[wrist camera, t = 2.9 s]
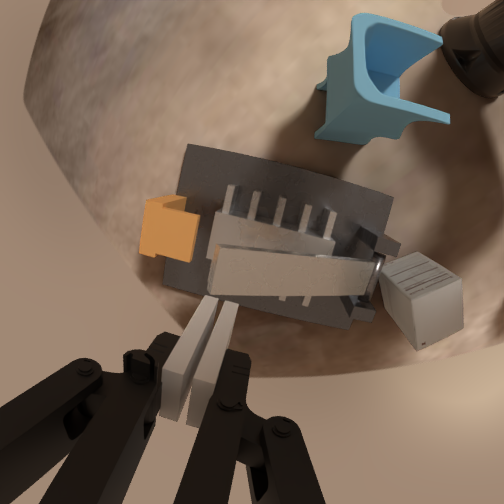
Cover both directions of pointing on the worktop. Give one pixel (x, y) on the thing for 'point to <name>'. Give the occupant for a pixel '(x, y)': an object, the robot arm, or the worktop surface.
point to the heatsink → (278, 226)
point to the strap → (291, 273)
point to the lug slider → (168, 228)
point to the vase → (375, 81)
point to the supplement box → (422, 299)
